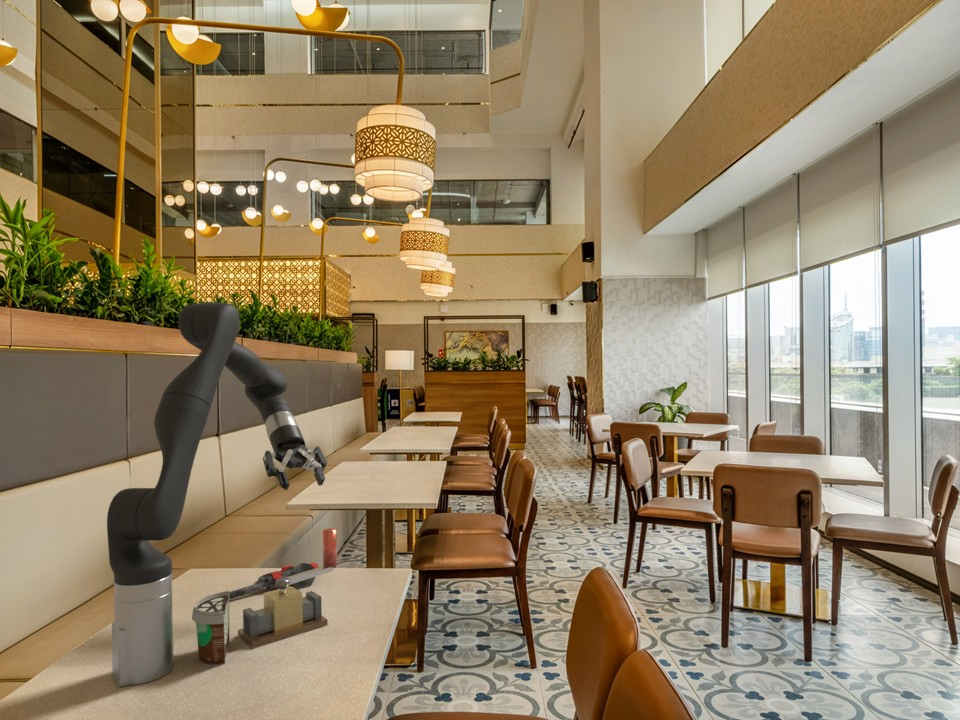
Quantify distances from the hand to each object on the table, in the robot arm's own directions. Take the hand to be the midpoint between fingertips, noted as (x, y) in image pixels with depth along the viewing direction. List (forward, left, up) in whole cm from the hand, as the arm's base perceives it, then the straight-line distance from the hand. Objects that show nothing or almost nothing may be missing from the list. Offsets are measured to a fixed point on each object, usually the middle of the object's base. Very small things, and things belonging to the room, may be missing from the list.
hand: (304, 485), depth 142 cm
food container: (-25, -11, -28) cm, 39 cm away
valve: (-2, +18, -28) cm, 34 cm away
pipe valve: (-10, -10, -28) cm, 31 cm away
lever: (-4, -9, -18) cm, 21 cm away
